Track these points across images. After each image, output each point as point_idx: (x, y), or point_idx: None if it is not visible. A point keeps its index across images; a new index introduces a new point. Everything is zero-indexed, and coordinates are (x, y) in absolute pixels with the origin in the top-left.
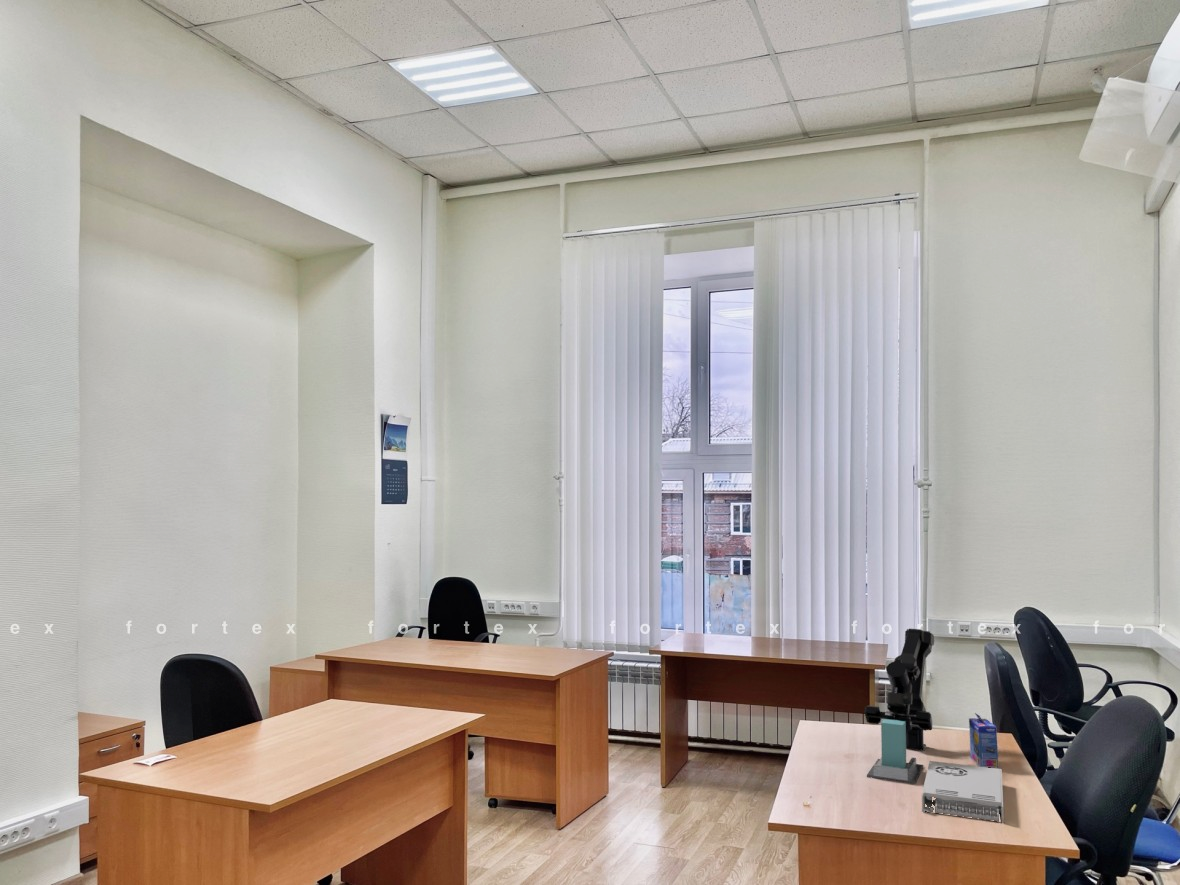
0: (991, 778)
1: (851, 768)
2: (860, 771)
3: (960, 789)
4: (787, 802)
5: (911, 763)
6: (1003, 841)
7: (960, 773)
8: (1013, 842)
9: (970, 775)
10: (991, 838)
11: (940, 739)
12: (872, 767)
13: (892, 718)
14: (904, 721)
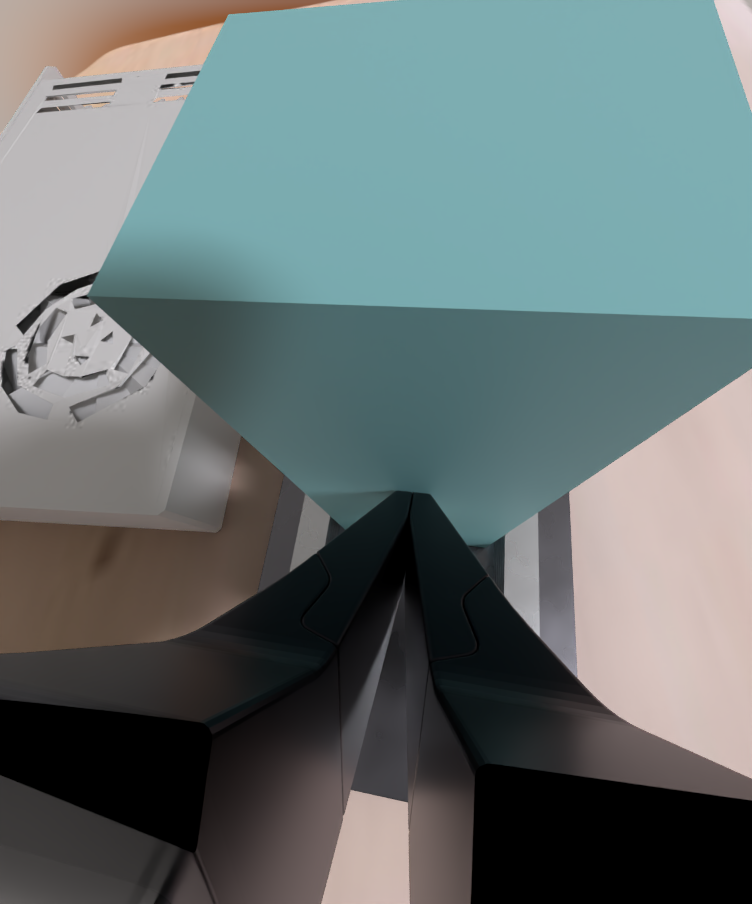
0: None
1: (700, 514)
2: (623, 469)
3: (136, 126)
4: (744, 20)
5: (302, 557)
6: (140, 46)
7: (49, 375)
8: (120, 50)
9: (15, 307)
10: (162, 49)
11: None
12: (567, 537)
13: (545, 761)
14: (123, 272)
